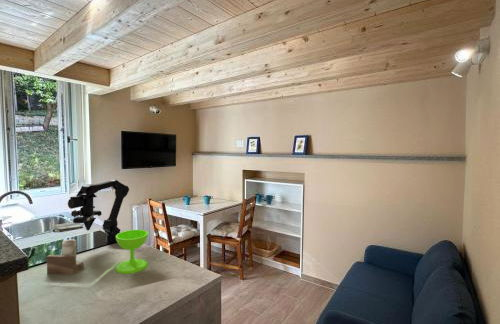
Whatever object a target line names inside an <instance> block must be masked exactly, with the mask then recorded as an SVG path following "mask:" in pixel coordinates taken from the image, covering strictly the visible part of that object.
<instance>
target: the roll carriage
mask: <svg viewBox="0 0 500 324" xmlns="http://www.w3.org/2000/svg"><path fill="white" fill-rule="evenodd" d="M61 255H62V256H75V266H76V265H77V264H79V263H80V262H81V261H77V240H76V239H74V238H72V239H71V238H69V239H66V240H63V241H62V242H61Z"/></svg>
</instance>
